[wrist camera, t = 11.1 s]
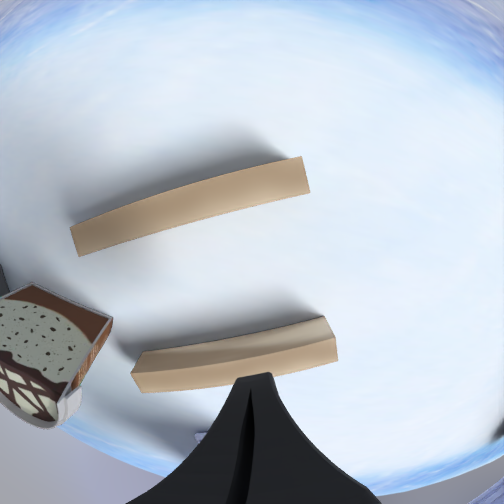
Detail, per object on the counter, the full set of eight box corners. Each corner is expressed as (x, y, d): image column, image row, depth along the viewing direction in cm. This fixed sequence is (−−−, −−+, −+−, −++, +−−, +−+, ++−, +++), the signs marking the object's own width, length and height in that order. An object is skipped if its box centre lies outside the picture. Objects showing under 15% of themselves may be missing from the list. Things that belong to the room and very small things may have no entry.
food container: (28, 330, 20) (-29, 380, 10) (22, 277, 18) (-50, 319, 9) (127, 378, 21) (83, 460, 11) (129, 323, 19) (65, 408, 9)
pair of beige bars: (327, 338, 19) (337, 360, 17) (152, 370, 20) (141, 393, 17) (292, 160, 16) (301, 156, 13) (93, 220, 17) (69, 227, 14)
